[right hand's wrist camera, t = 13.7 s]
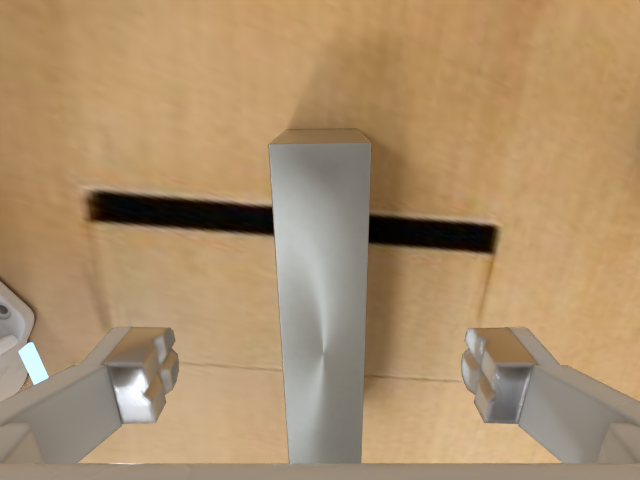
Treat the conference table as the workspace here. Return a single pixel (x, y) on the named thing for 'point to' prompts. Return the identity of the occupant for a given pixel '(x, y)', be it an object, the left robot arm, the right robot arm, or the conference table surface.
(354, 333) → the bar
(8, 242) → the conference table surface
